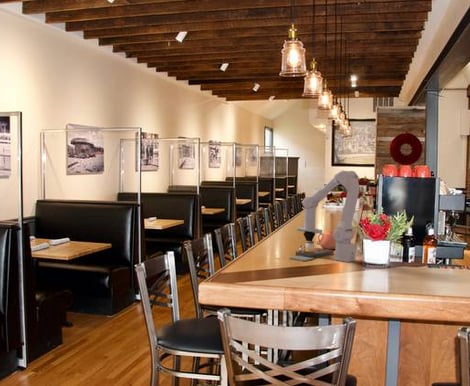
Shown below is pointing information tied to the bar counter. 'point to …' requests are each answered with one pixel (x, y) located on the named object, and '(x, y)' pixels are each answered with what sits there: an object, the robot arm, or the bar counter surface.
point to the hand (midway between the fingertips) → (308, 246)
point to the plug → (309, 247)
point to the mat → (301, 258)
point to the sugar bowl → (327, 241)
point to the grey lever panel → (318, 253)
